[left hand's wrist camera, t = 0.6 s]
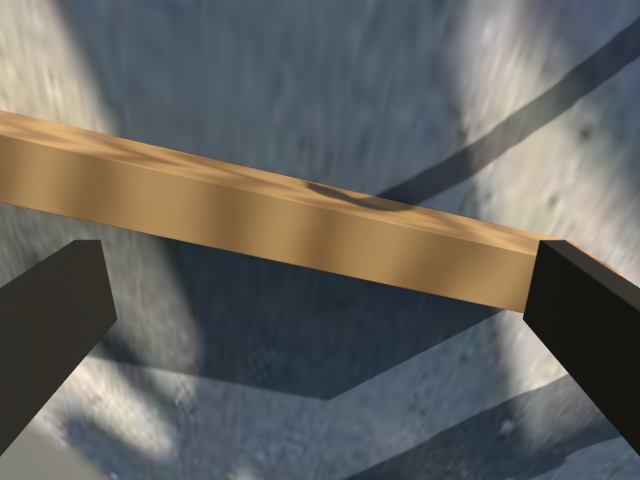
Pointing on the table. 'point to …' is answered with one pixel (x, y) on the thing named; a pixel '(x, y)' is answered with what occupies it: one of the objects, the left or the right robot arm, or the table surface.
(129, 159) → the beam
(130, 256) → the table surface
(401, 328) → the table surface
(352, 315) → the table surface
